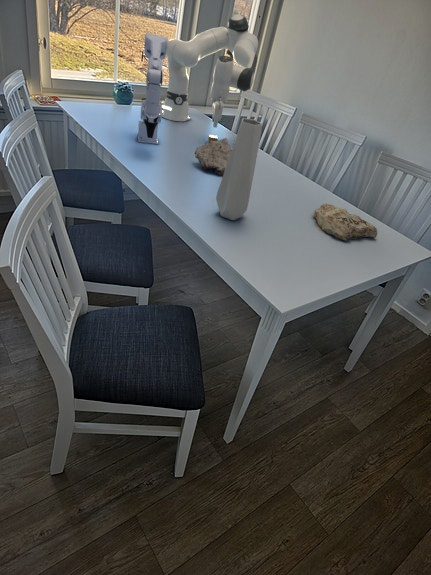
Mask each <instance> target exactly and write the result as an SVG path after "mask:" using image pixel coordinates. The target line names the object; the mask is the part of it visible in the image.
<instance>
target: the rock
mask: <svg viewBox="0 0 431 575" xmlns="http://www.w3.org/2000/svg"><path fill="white" fill-rule="evenodd" d="M231 151H232V147H231V145H230V143H229V141H228V139H227V138H223V139H218V140H217V141H210V142H208V141H207V142H206V143H205V144H202V145H200V146H197V147H196V148H195V151H194V153H193V154H194V155H195V156H194V158H195V159H197V161H198V164H199V165H200V166H201V167H202V169H204V170H205V171H207V170H212V171H214V173H216V174H218V175H221V176H223V174H224V171H225V168H226V165H227V162H228V160H229V157H230V154H231Z"/></svg>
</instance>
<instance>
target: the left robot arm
mask: <svg viewBox="0 0 431 575" xmlns="http://www.w3.org/2000/svg"><path fill="white" fill-rule="evenodd" d="M168 41H169V38H168V36H164V35H159V34H153V33H148V32H145V33H144V46H143V48H144V51H143V52H144V56H145V57H147V58H148V60H147V70H146V75H145V76H146V77H145V83H146V84H145V85H146V86H145V87H146V94H145V98H146V100H142V102H141V105H140V106H141V107H140V120H138V124H137V125H138V126H137V127H138V128H137V129H138V130H137V142H138V143H144V144H153V145H159V141H158V131H159V124H160V123H162V119H163V117H162V108H163V107H162V105H161V104H160V103H161V92H162V86H163V82H164V81H163V80H164V71H163V60H166V57H167V55H166V52H167V44H168Z"/></svg>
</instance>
